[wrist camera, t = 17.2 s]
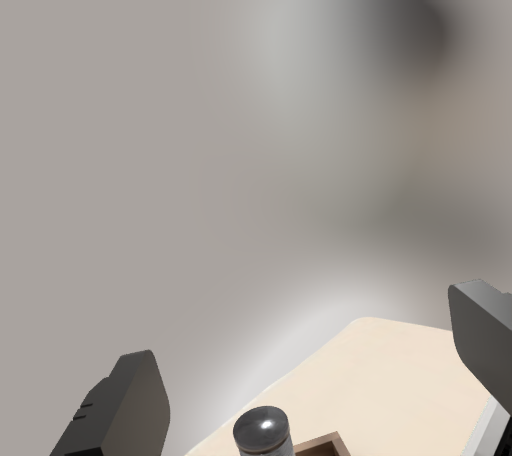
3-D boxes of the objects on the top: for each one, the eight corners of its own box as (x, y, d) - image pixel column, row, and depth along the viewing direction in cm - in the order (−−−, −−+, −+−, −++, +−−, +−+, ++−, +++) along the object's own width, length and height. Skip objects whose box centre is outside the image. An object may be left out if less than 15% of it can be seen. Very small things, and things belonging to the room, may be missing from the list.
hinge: (487, 403, 48) (514, 335, 43) (534, 428, 45) (568, 359, 40) (430, 518, 36) (458, 443, 32) (488, 561, 34) (528, 486, 29)
